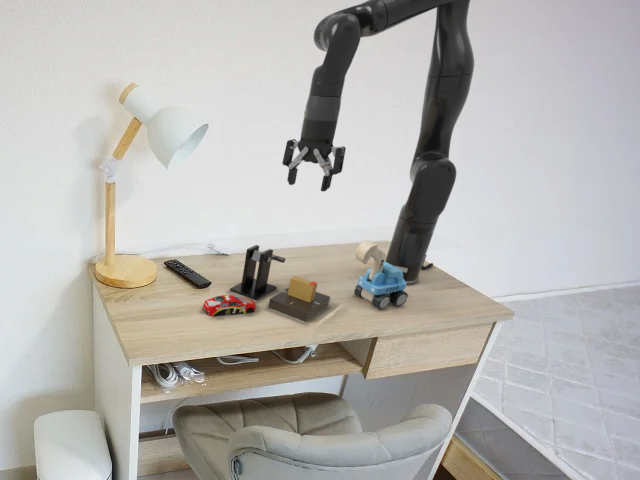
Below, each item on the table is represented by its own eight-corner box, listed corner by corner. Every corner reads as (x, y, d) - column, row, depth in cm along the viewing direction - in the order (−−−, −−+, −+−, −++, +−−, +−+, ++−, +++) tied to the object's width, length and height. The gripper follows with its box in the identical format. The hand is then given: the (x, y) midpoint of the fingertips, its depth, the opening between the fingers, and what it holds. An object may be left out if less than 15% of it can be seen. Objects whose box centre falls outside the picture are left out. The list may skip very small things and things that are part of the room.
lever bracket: (250, 281, 140) (256, 240, 134) (276, 290, 136) (284, 248, 130) (229, 292, 134) (235, 250, 128) (255, 302, 130) (263, 259, 123)
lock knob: (287, 294, 127) (291, 277, 124) (291, 292, 128) (295, 275, 126) (309, 302, 123) (313, 285, 121) (313, 300, 125) (317, 282, 122)
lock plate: (291, 294, 134) (293, 283, 132) (328, 307, 128) (331, 296, 127) (267, 309, 127) (269, 297, 125) (305, 324, 121) (308, 312, 119)
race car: (249, 304, 129) (252, 290, 127) (258, 314, 124) (261, 300, 122) (200, 308, 126) (201, 294, 124) (207, 319, 122) (209, 304, 120)
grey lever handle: (267, 259, 140) (270, 251, 139) (283, 265, 137) (286, 256, 136) (246, 257, 130) (249, 248, 130) (263, 263, 128) (266, 254, 127)
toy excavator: (331, 300, 132) (348, 236, 123) (382, 291, 137) (401, 229, 128) (355, 315, 125) (374, 249, 116) (407, 305, 130) (429, 241, 121)
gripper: (358, 118, 116) (341, 190, 125) (300, 111, 124) (288, 179, 133) (344, 122, 111) (327, 196, 120) (285, 114, 120) (273, 184, 128)
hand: (307, 187), depth 126 cm, fingers open, 8 cm apart
